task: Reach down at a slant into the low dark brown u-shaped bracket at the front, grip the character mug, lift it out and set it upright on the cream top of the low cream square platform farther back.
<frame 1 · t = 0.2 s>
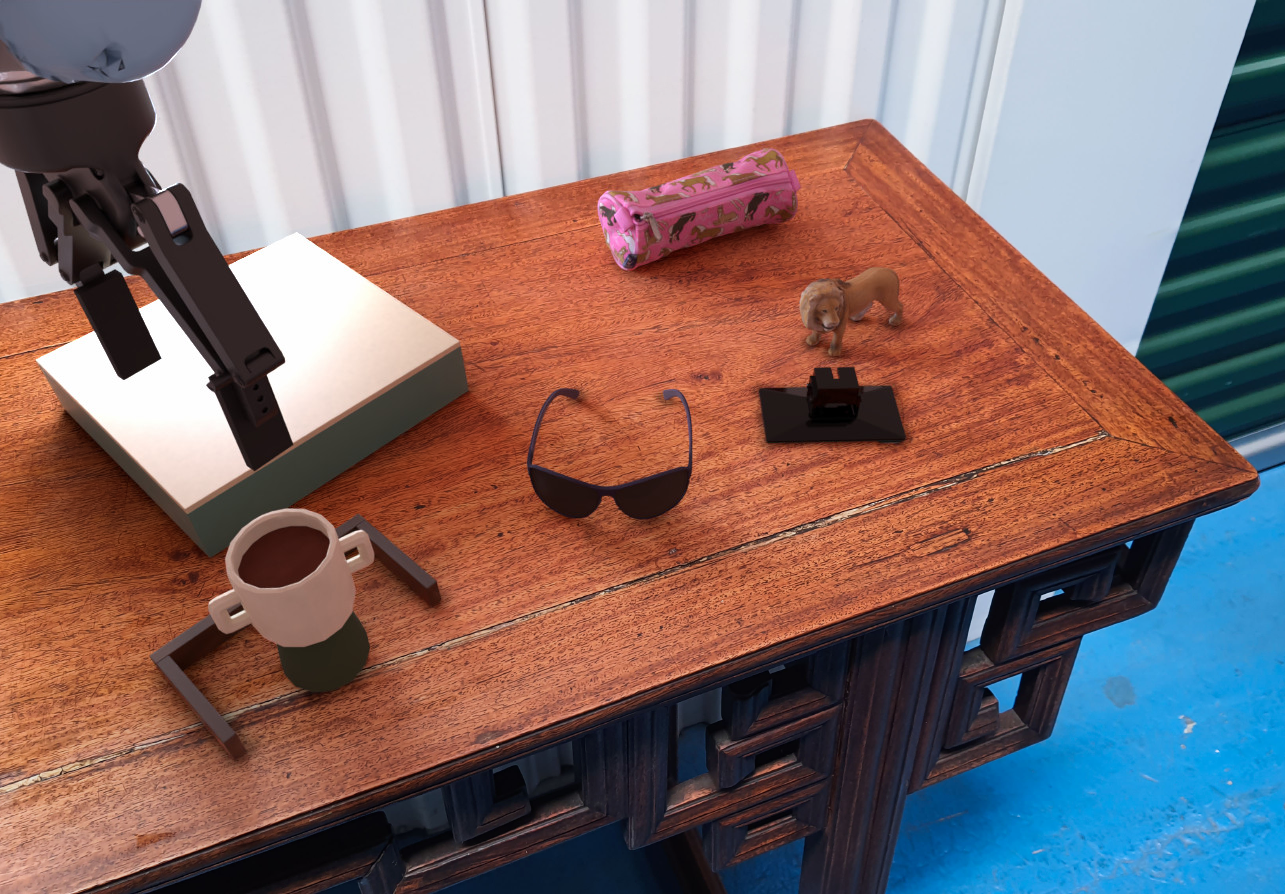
hand: (202, 409, 60), 22 cm above the table, tool pointing down, fingers open, 13 cm apart
sunglasses: (613, 457, 87), on the table
lion figurine: (847, 341, 98), on the table
pencil case: (698, 243, 110), on the table
cream square platform: (267, 399, 93), on the table
build plate: (829, 416, 91), on the table
character mug: (329, 661, 73), on the table
dark brown u-shaped bracket: (309, 640, 74), on the table
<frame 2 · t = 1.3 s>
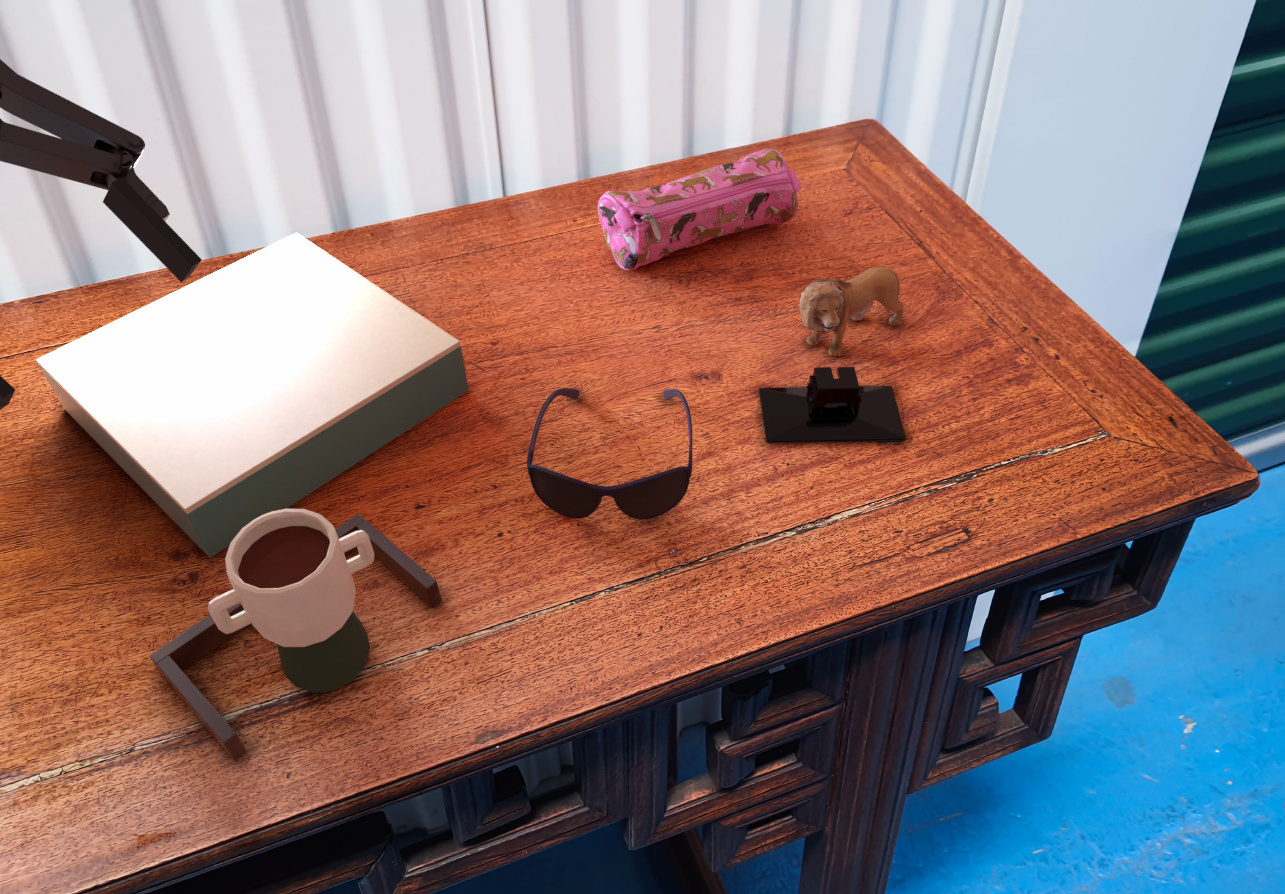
hand: (106, 332, 59), 26 cm above the table, tool tilted 45°, fingers open, 13 cm apart
nothing on the table moved.
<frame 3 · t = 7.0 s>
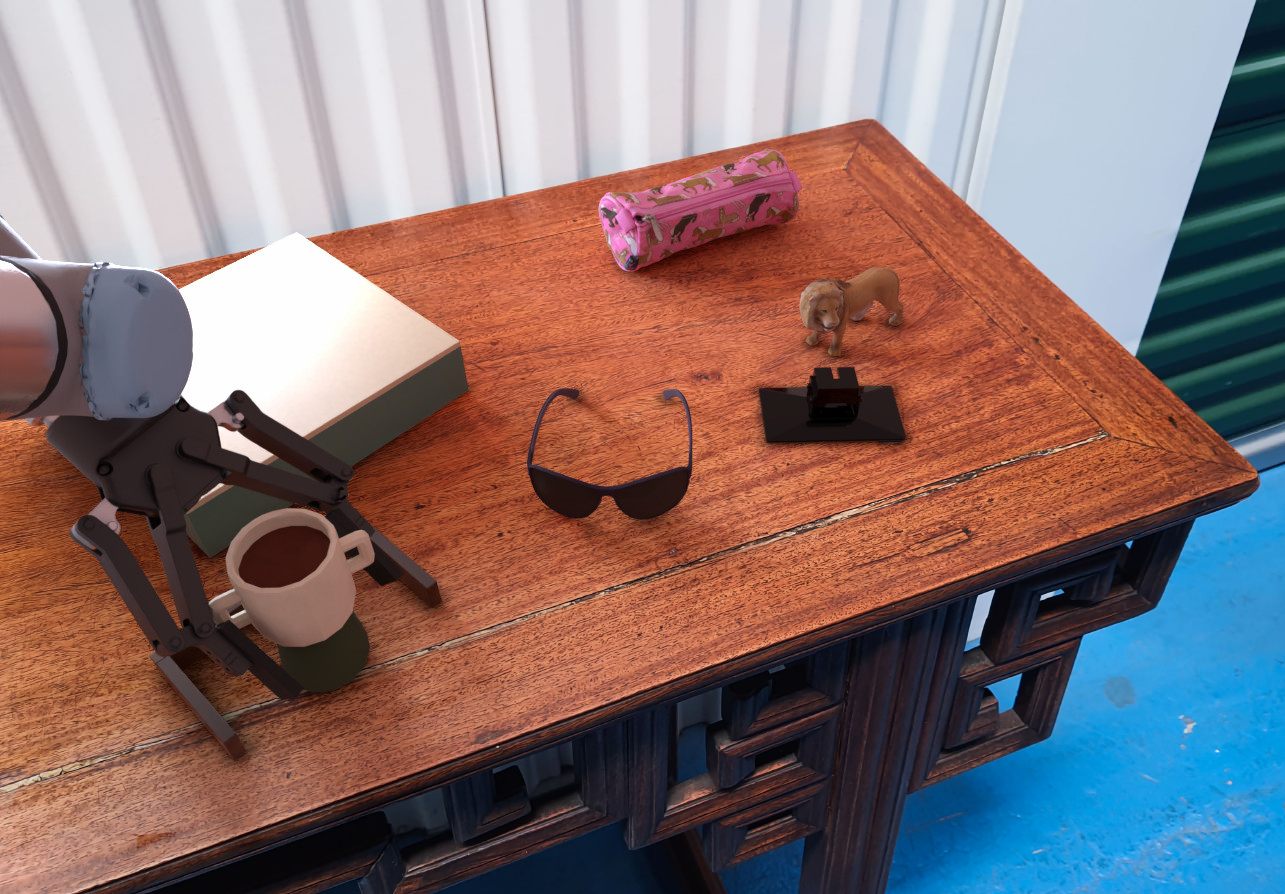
hand: (345, 634, 68), 5 cm above the table, tool tilted 45°, fingers closed on character mug, 10 cm apart
character mug: (329, 661, 73), on the table, touching gripper
everything else where it was.
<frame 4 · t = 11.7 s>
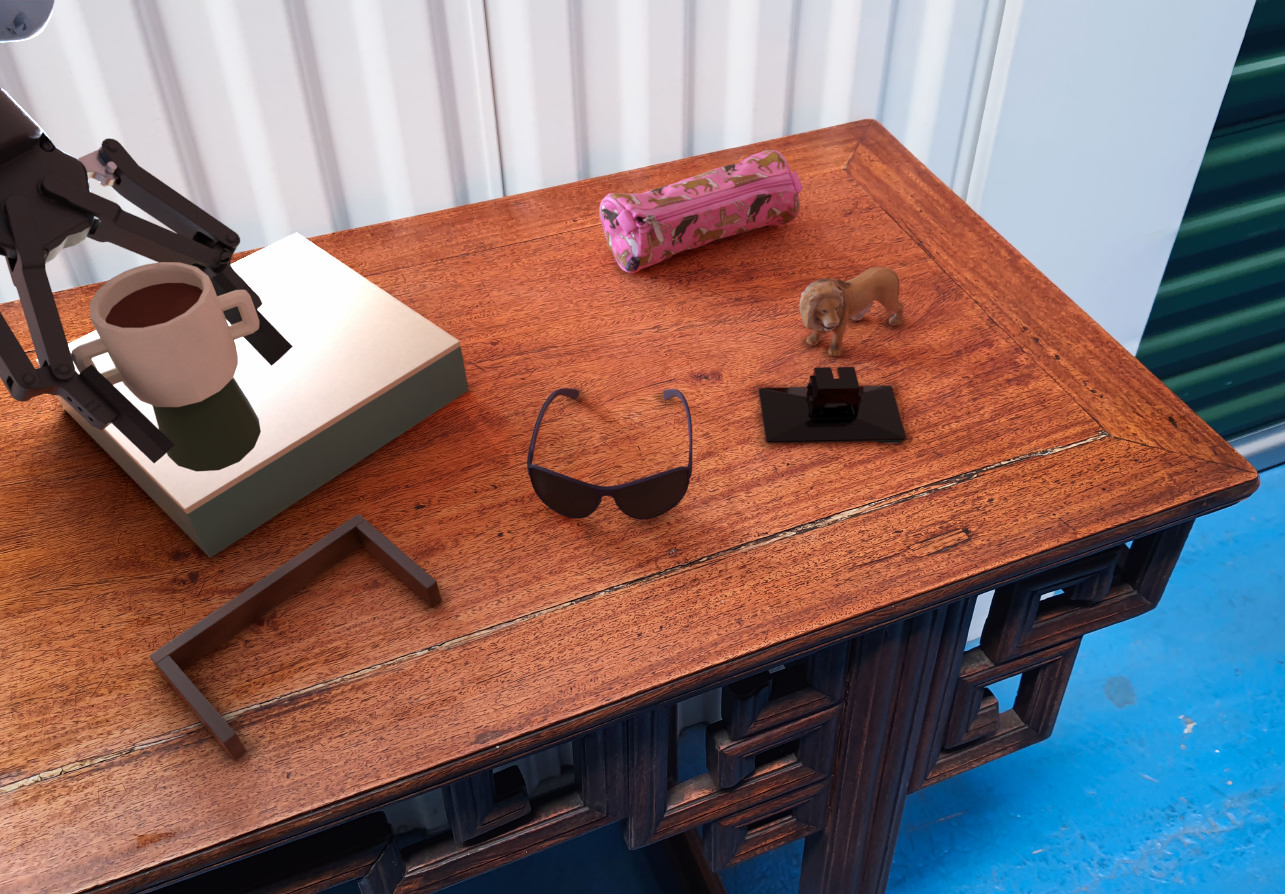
hand: (226, 402, 64), 19 cm above the table, tool tilted 45°, fingers closed on character mug, 10 cm apart
character mug: (218, 447, 69), point 14 cm above the table, touching gripper
everything else where it was.
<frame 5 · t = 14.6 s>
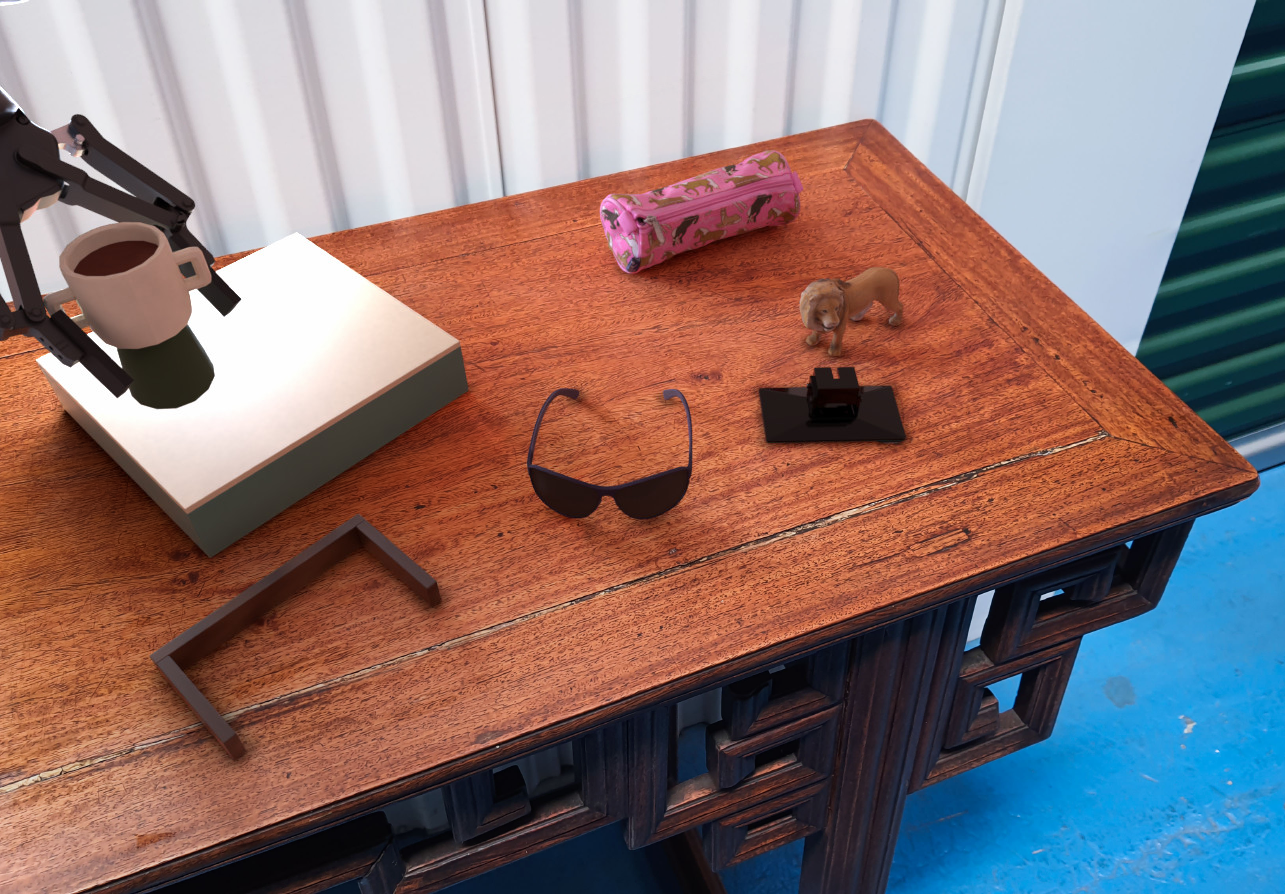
hand: (181, 347, 73), 16 cm above the table, tool tilted 45°, fingers closed on character mug, 10 cm apart
character mug: (177, 390, 78), point 11 cm above the table, touching gripper
everything else where it was.
when the fingers open (11 cm above the table, at t = 16.8 s): character mug stays where it is, resting on cream square platform.
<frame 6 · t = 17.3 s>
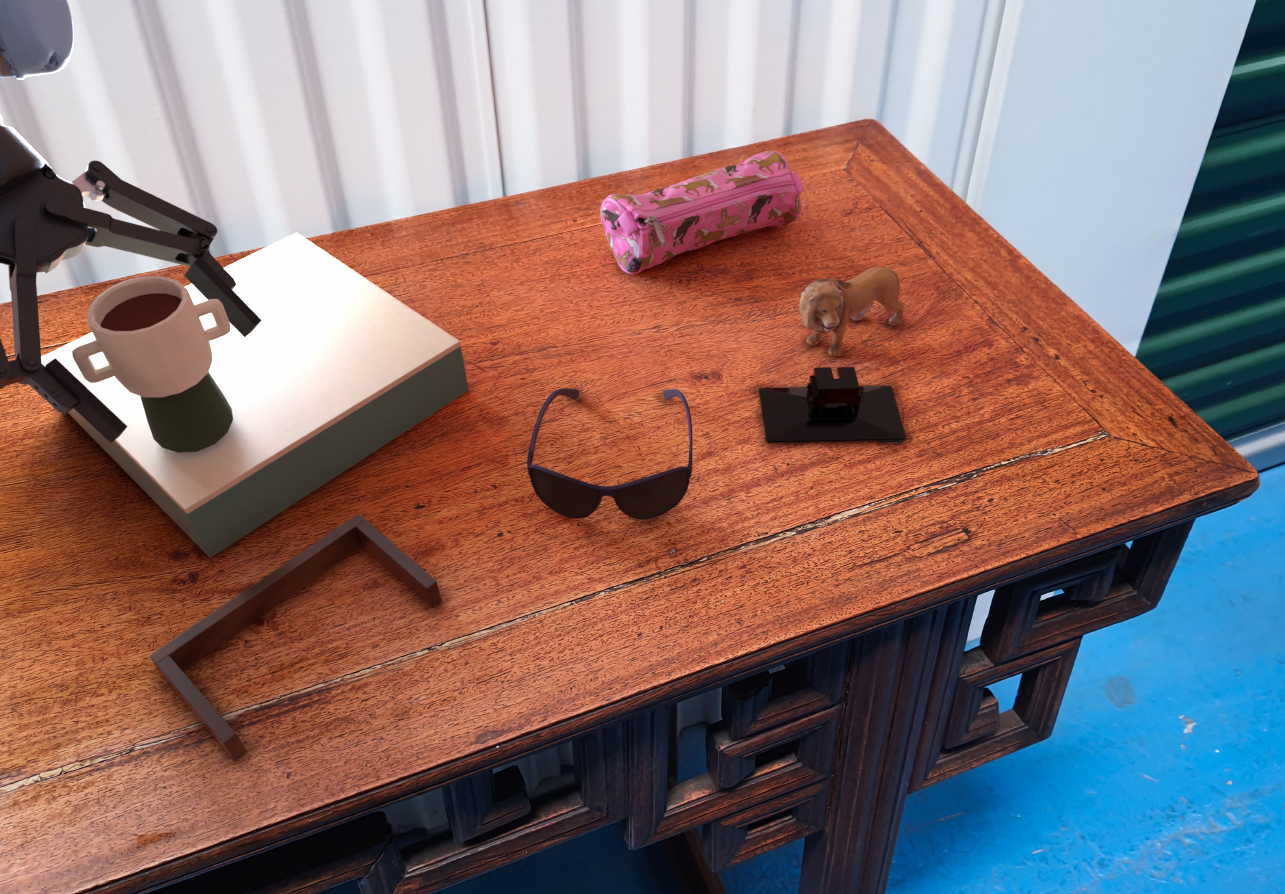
hand: (190, 379, 76), 13 cm above the table, tool tilted 45°, fingers open, 13 cm apart
character mug: (197, 433, 81), point 6 cm above the table, touching cream square platform
everything else where it was.
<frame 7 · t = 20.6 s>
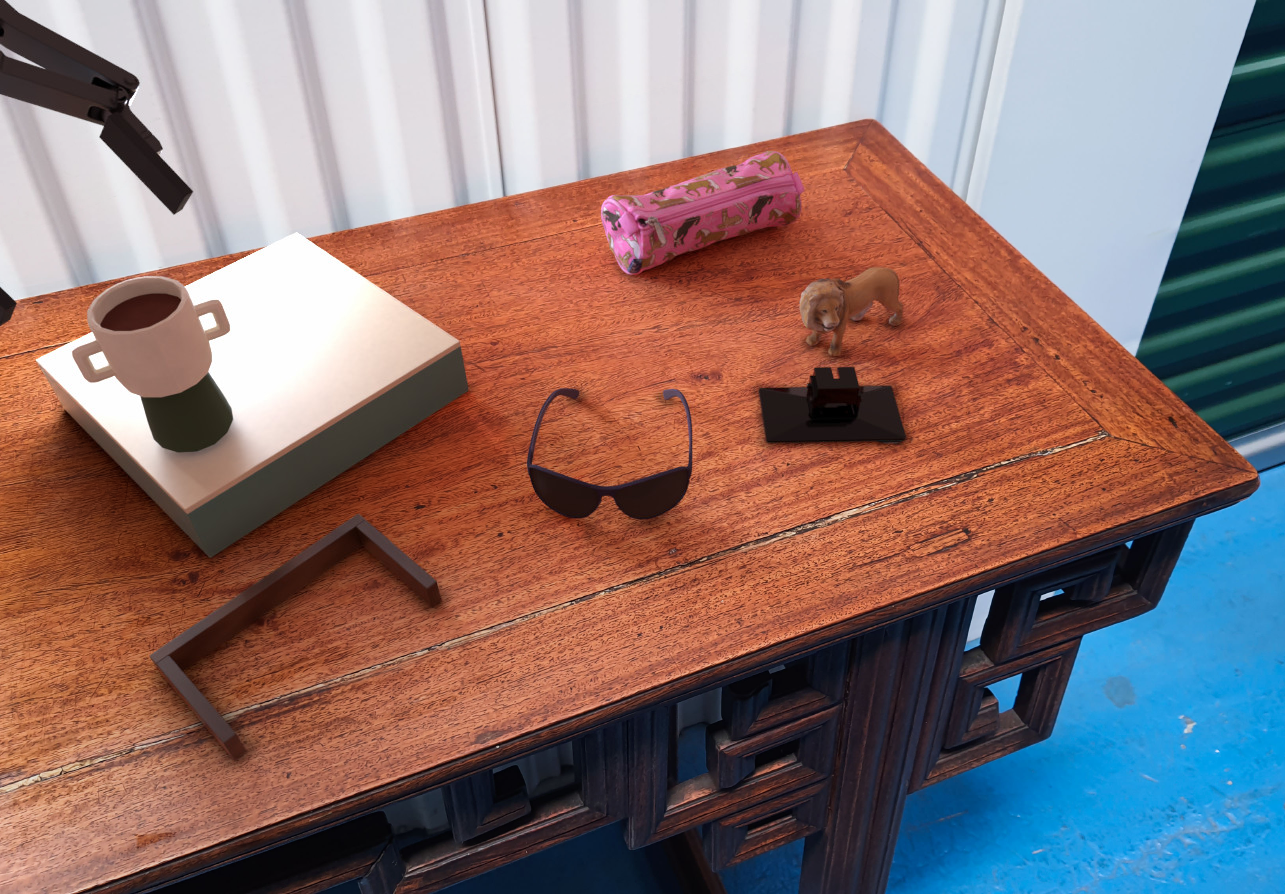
hand: (102, 256, 62), 27 cm above the table, tool tilted 45°, fingers open, 13 cm apart
nothing on the table moved.
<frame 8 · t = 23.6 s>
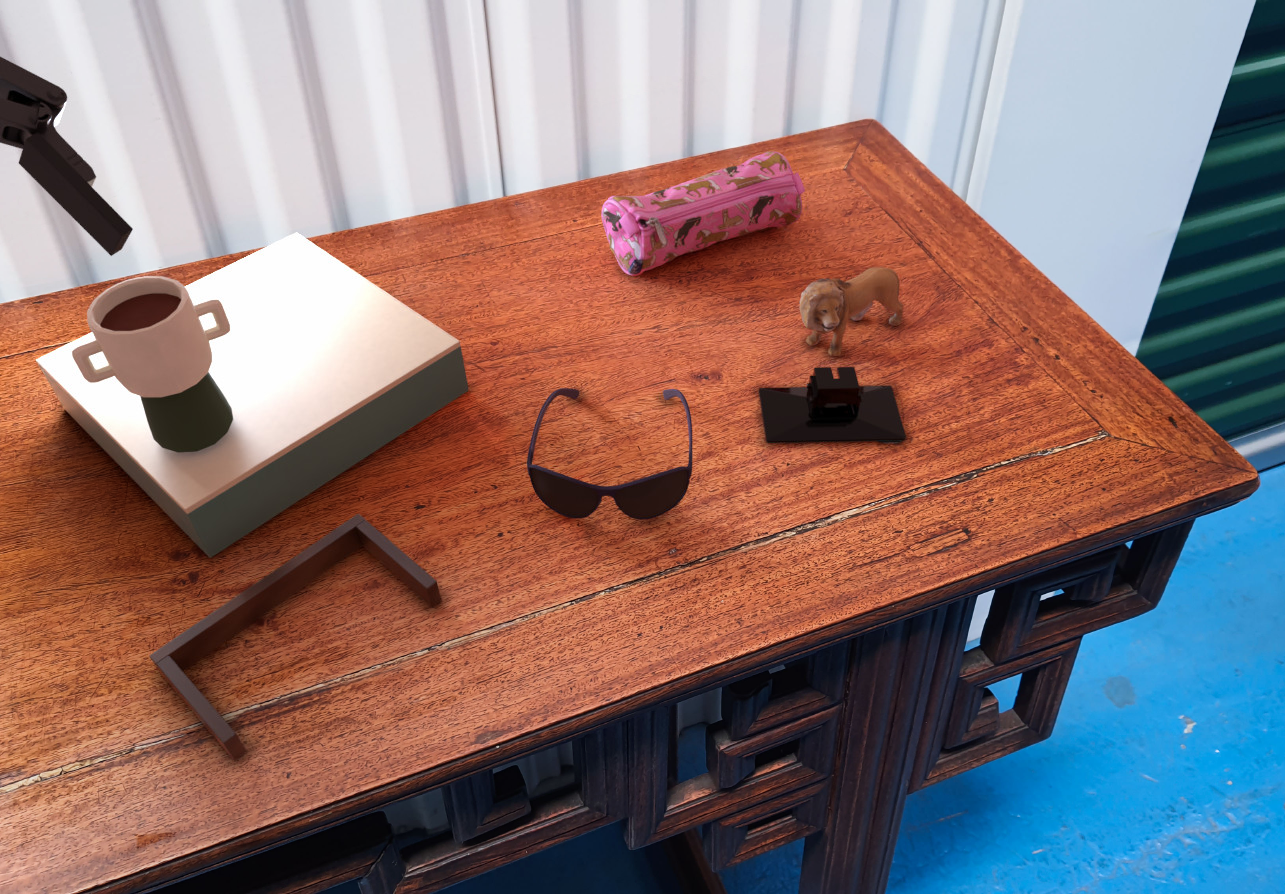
hand: (17, 311, 51), 32 cm above the table, tool tilted 45°, fingers open, 13 cm apart
nothing on the table moved.
at the end: character mug inside the target area on the cream square platform (10.7 cm from its centre), point 5.8 cm above the cream square platform's base; character mug tilted 0°; the gripper is holding nothing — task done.
